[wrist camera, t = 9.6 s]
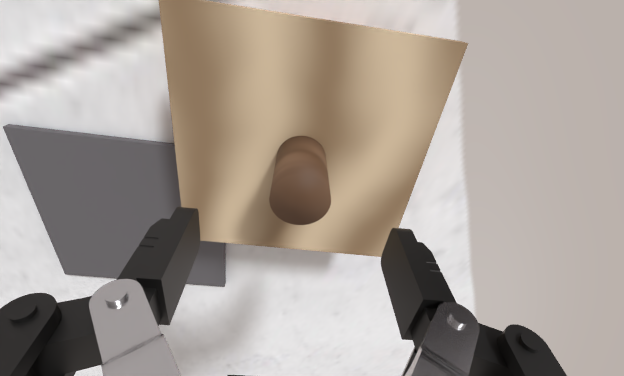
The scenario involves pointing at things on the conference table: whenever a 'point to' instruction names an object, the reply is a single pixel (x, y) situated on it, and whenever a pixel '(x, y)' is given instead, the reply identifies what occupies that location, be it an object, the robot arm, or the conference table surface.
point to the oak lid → (300, 123)
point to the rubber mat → (104, 198)
